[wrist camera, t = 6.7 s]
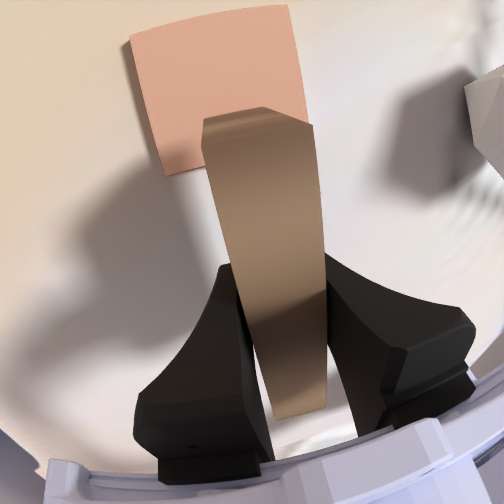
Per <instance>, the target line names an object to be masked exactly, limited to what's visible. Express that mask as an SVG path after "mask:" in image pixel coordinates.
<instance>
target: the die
mask: <svg viewBox="0 0 504 504" xmlns="http://www.w3.org/2000/svg"><path fill="white" fill-rule="evenodd" d="M464 91H465V95H466V100H467V105H468V111H469V116H470V122H471V129H472V136H473V143H474V147H475V148H476V149H477V150H478V151H479V152H480V153H481V154H482V155H483V156H484V157H485V158H486V160H487V161H488V162H489V163H490V164H491V165H492V166H493V167H494V169H495V170H496V171H497V172H498V173H499V174H500V175H501V177H502V178H503V179H504V65H502V66H500V67H498V68H496V69H495V70H493V71H491V72H489V73H487V74H485V75H484V76H482V77H480V78H478V79H476V80H475V81H473V82H471V83H469V84H467V85H466V86H464Z"/></svg>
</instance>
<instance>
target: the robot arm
mask: <svg viewBox="0 0 504 504" xmlns="http://www.w3.org/2000/svg"><path fill="white" fill-rule="evenodd" d="M325 272H326V299H327V344H328V346H329V348H330V351H331V353H332V355H333V357H334V360H335V363H336V366H337V369H338V372H339V374H340V377H341V380H342V383H343V386H344V389H345V392H346V396H347V399H348V402H349V405H350V409H351V412H352V416H353V419H354V423H355V426H356V430H357V434H358V438H356V439H353V440H350V441H347V442H344V443H341V444H338V445H334V446H331V447H328V448H324V449H321V450H317V451H314V452H310V453H306V454H302V455H298V456H294V457H290V458H286V459H281V460H275V456H274V452H273V448H272V444H271V439H270V435H269V431H268V426H267V422H266V418H265V413H264V409H263V404H262V400H261V395H260V390H259V386H258V381H257V376H256V369H255V360H254V350H253V342H252V338H251V335H250V331H249V328H248V324H247V321H246V317H245V314H244V310H243V307H242V303H241V299H240V296H239V292H238V289H237V285H236V281H235V278H234V274H233V270H232V266H231V263H228V264H224V265H221V266H220V267H219V269H218V273H217V277H216V281H215V284H214V287H213V289H212V292H211V295H210V297H209V300H208V302H207V304H206V307H205V309H204V311H203V313H202V315H201V317H200V319H199V321H198V323H197V325H196V327H195V328H194V330H193V332H192V333H191V335H190V337H189V338H188V340H187V341H186V342H185V344H184V345H183V347H182V348H181V350H180V351H179V352H178V354H177V355H176V356H175V358H174V359H173V360H172V361H171V362H170V363H169V365H168V366H167V367H166V368H165V369H164V370H163V371H162V373H161V374H160V375H159V376H158V377H157V378H156V379H154V380H153V381H152V382H151V383H150V384H149V385H148V386H147V387H146V388H145V389H144V390H143V391H141V392H140V393H139V395H138V400H137V404H136V408H135V415H134V427H133V436H134V439H135V440H136V442H137V443H138V444H139V445H140V446H141V447H143V448H144V449H145V450H147V451H148V452H149V453H151V454H152V455H153V456H155V457H156V458H158V474H134V473H112V472H99V471H89V470H88V469H87V468H86V467H84V466H82V465H80V464H78V463H75V462H72V461H65V460H59V459H52V458H51V459H49V463H48V470H47V477H46V486H45V494H44V504H504V363H503V364H501V365H500V366H499V367H497V368H496V369H494V370H493V371H491V372H490V373H488V374H487V375H485V376H484V377H482V378H480V379H479V380H477V379H476V378H475V377H474V375H473V374H472V372H471V371H470V369H469V367H468V365H467V364H466V362H465V361H464V360H465V358H466V356H467V354H468V352H469V350H470V348H471V346H472V344H473V342H474V339H475V335H476V328H475V325H474V324H473V323H472V322H471V320H470V319H469V318H468V317H467V316H466V314H465V313H464V312H463V311H462V310H461V309H460V308H459V307H454V306H448V305H443V304H437V303H432V302H428V301H424V300H420V299H417V298H413V297H410V296H407V295H404V294H401V293H398V292H396V291H393V290H390V289H388V288H386V287H383V286H381V285H379V284H377V283H375V282H372V281H370V280H368V279H366V278H365V277H363V276H361V275H359V274H357V273H356V272H354V271H352V270H351V269H349V268H347V267H346V266H344V265H343V264H341V263H339V262H338V261H336V260H335V259H333V258H332V257H331V256H329V255H328V254H326V253H325ZM502 440H503V442H502V443H501V444H500V445H499V446H498V447H496V448H495V449H494V450H492V451H491V452H490V453H488V454H487V455H486V456H484V457H483V458H481V459H480V460H479V461H477V462H476V463H474V461H476V460H477V459H478V458H480V457H481V456H482V455H484V454H485V453H487V452H488V451H489V450H491V449H492V448H493V447H495V446H496V445H497V444H499V443H500V442H501V441H502Z"/></svg>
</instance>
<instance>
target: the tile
mask: <svg viewBox="0 0 504 504" xmlns="http://www.w3.org/2000/svg"><path fill="white" fill-rule="evenodd" d="M129 38H130V42H131V47H132V52H133V56H134V60H135V65H136V69H137V73H138V78H139V82H140V86H141V90H142V94H143V98H144V102H145V106H146V110H147V113H148V117H149V121H150V125H151V128H152V132H153V136H154V139H155V143H156V146H157V150H158V154H159V157H160V160H161V164H162V167H163V171H164V174H165V176H168V175H172V174H176V173H179V172H183V171H187V170H191V169H194V168H198V167H202V166H205V162H204V158H203V154H202V150H201V139H202V129H203V120H204V118H209V117H213V116H217V115H222V114H226V113H231V112H236V111H241V110H246V109H251V108H257V107H266V108H269V109H272V110H275V111H277V112H280V113H283V114H286V115H288V116H291V117H293V118H296V119H299V120H301V121H304V122H306V123H309V122H308V115H307V108H306V101H305V95H304V89H303V82H302V76H301V71H300V65H299V59H298V54H297V49H296V44H295V39H294V34H293V29H292V24H291V19H290V15H289V10H288V6H287V5H272V6H261V7H252V8H244V9H237V10H230V11H224V12H218V13H213V14H207V15H203V16H198V17H193V18H189V19H185V20H181V21H177V22H173V23H169V24H166V25H162V26H159V27H155V28H152V29H149V30H145V31H142V32H139V33H136V34H133V35H131V36H129Z"/></svg>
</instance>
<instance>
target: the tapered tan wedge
mask: <svg viewBox="0 0 504 504" xmlns="http://www.w3.org/2000/svg"><path fill="white" fill-rule="evenodd" d="M201 150H202V154H203V158H204V162H205V166H206V170H207V174H208V178H209V182H210V186H211V190H212V194H213V198H214V202H215V206H216V210H217V214H218V217H219V221H220V225H221V229H222V233H223V237H224V240H225V244H226V248H227V252H228V255H229V259H230V263H231V266H232V270H233V274H234V278H235V281H236V285H237V289H238V292H239V296H240V299H241V303H242V307H243V310H244V314H245V317H246V321H247V324H248V328H249V331H250V335H251V338H252V342H253V345H254V349H255V352H256V356H257V359H258V363H259V366H260V370H261V373H262V376H263V380H264V383H265V386H266V390H267V393H268V397H269V400H270V403H271V407H272V410H273V413H274V416H275V420H276V421H277V420H281V419H286V418H290V417H294V416H298V415H302V414H305V413H309V412H313V411H316V410H320V409H323V408H326V394H327V299H326V272H325V252H324V236H323V222H322V209H321V197H320V186H319V176H318V167H317V158H316V149H315V141H314V133H313V125H311V124H309V123H306V122H304V121H301V120H299V119H296V118H293V117H291V116H288V115H286V114H283V113H280V112H277V111H275V110H272V109H269V108H266V107H257V108H251V109H246V110H241V111H236V112H231V113H226V114H222V115H217V116H213V117H209V118H204V120H203V129H202V139H201Z"/></svg>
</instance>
